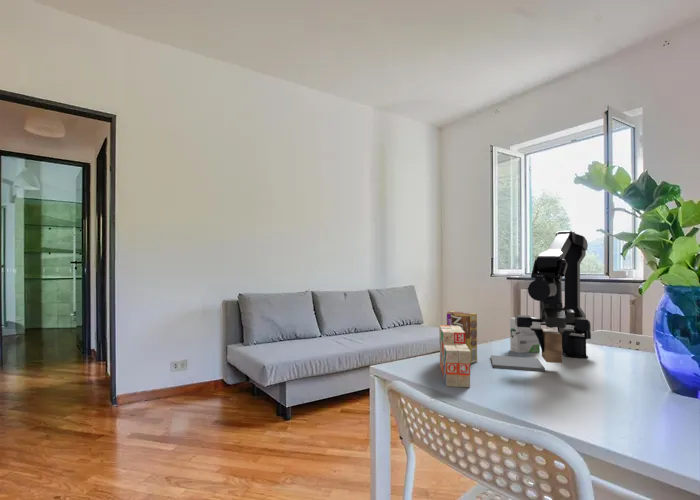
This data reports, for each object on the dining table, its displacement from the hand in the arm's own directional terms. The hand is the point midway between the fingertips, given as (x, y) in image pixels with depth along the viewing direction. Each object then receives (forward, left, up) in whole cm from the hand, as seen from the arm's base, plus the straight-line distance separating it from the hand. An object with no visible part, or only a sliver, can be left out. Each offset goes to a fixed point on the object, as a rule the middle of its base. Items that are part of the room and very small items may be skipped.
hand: (551, 352), depth 110 cm
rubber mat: (+9, -5, -5) cm, 12 cm away
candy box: (+25, -5, -6) cm, 26 cm away
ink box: (+4, -24, -6) cm, 25 cm away
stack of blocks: (+27, +12, -6) cm, 30 cm away
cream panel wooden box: (0, 0, -2) cm, 2 cm away
